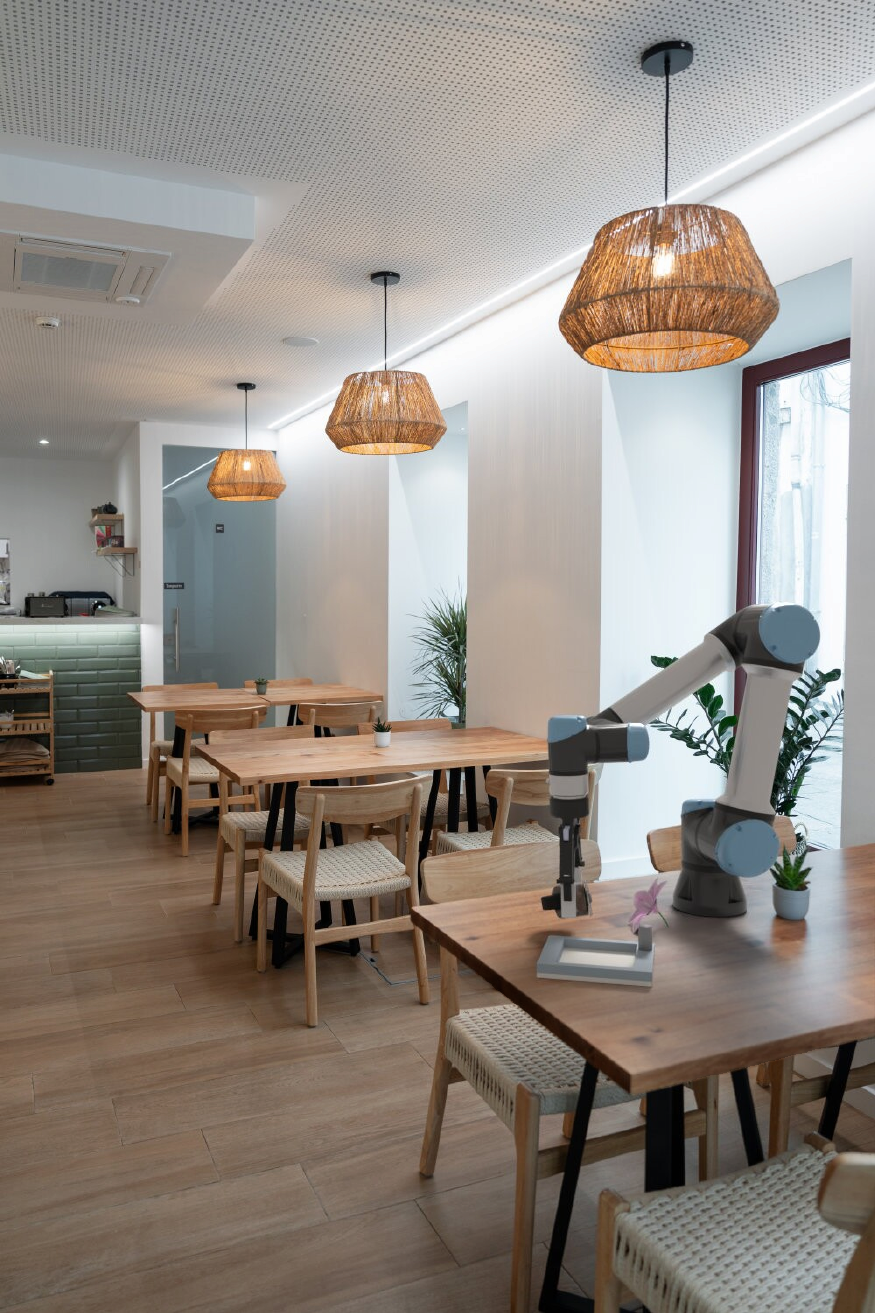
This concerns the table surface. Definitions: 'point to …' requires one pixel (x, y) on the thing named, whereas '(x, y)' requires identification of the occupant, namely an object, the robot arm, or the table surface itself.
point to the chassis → (599, 959)
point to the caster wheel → (581, 900)
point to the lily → (646, 904)
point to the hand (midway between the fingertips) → (572, 908)
